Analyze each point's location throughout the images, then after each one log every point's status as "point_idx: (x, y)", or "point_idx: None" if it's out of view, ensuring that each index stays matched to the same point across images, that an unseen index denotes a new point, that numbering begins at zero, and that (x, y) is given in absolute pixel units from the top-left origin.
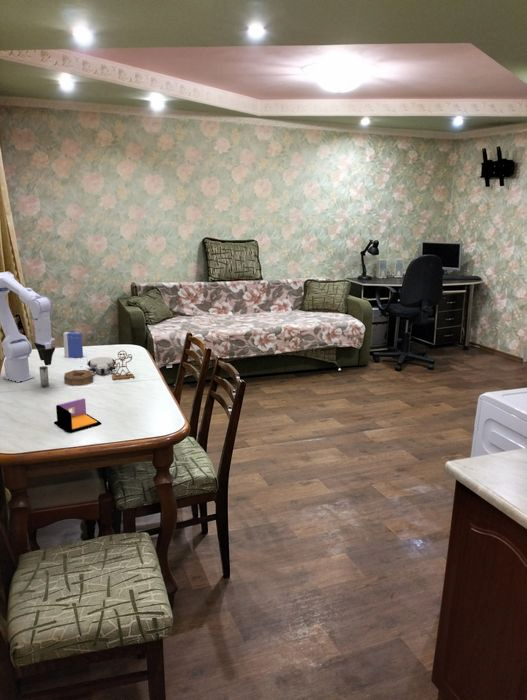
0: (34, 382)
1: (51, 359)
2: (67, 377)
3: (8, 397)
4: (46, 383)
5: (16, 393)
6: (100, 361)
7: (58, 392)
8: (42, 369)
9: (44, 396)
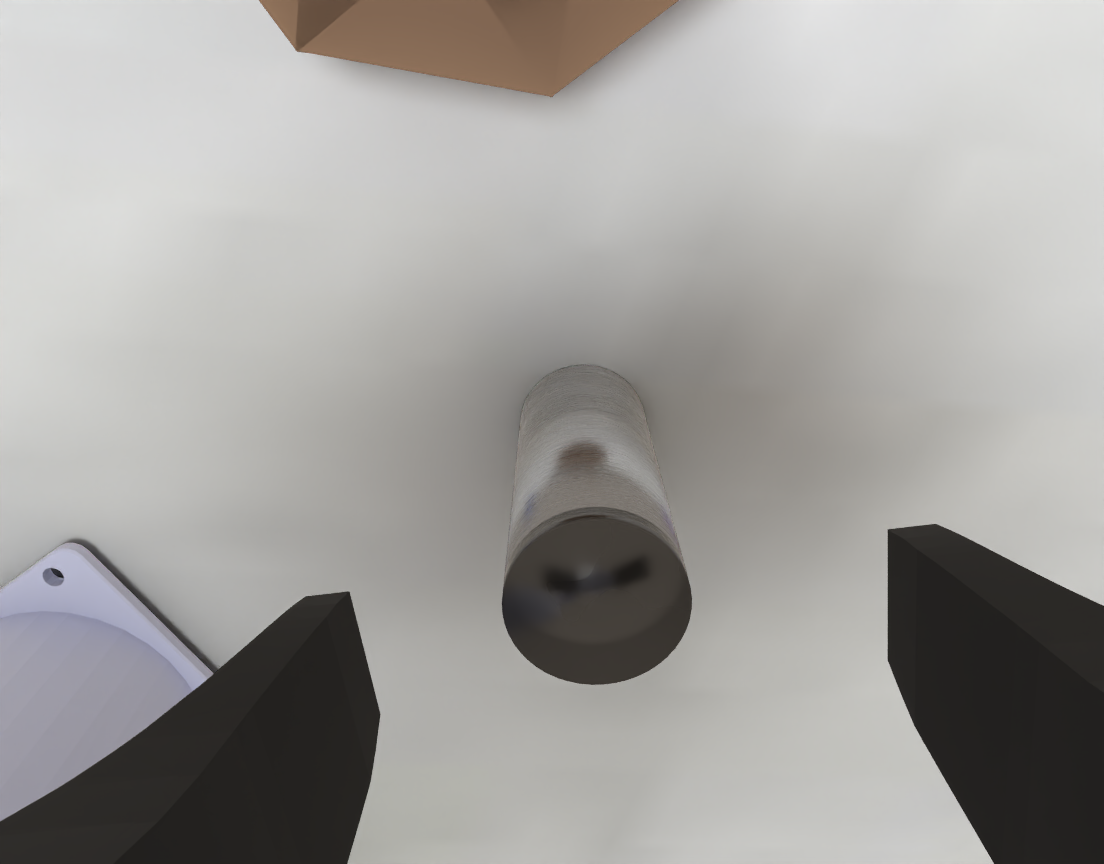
0: (321, 551)
1: (1058, 591)
2: (640, 27)
3: (846, 850)
4: (646, 428)
5: (734, 773)
6: None
7: (984, 251)
8: (681, 619)
9: (1055, 467)
